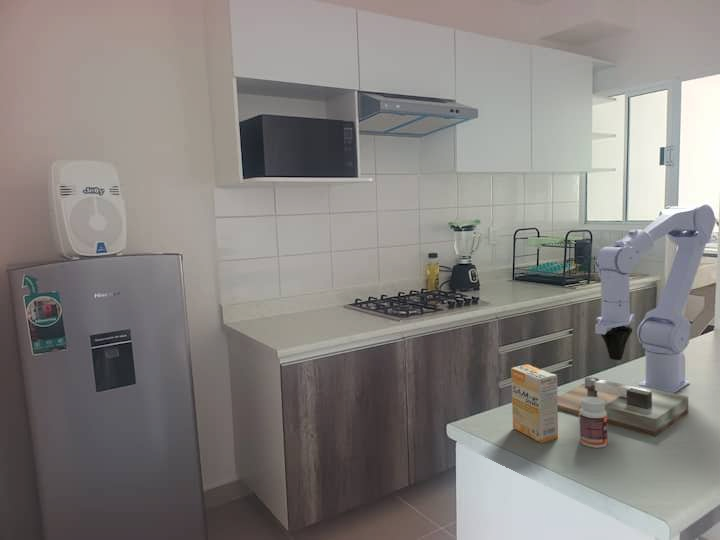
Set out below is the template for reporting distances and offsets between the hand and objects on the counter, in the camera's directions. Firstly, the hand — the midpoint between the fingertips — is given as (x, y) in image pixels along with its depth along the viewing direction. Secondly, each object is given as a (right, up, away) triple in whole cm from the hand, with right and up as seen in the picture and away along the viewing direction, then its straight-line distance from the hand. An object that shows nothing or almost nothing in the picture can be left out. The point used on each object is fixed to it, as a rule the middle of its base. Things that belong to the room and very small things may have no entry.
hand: (615, 359), depth 116 cm
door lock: (-3, -10, -5) cm, 11 cm away
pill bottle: (-14, -13, -19) cm, 27 cm away
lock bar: (-3, -6, -6) cm, 9 cm away
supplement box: (-23, -13, -14) cm, 30 cm away
